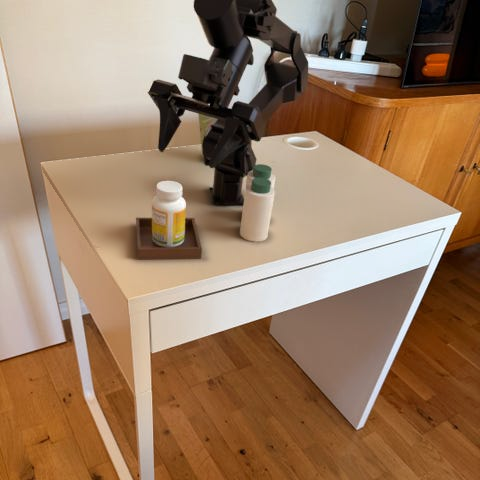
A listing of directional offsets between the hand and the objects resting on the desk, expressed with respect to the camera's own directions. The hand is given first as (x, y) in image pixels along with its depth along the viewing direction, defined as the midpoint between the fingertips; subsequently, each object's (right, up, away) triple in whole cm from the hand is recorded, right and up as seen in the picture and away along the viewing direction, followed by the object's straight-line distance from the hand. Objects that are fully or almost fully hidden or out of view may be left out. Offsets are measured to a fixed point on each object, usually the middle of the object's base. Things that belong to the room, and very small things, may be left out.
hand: (184, 158), depth 71 cm
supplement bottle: (-3, -12, +5) cm, 14 cm away
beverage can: (+2, +12, +34) cm, 36 cm away
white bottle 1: (+11, -6, +15) cm, 20 cm away
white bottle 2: (+11, -10, +10) cm, 18 cm away
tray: (-4, -12, +5) cm, 14 cm away
